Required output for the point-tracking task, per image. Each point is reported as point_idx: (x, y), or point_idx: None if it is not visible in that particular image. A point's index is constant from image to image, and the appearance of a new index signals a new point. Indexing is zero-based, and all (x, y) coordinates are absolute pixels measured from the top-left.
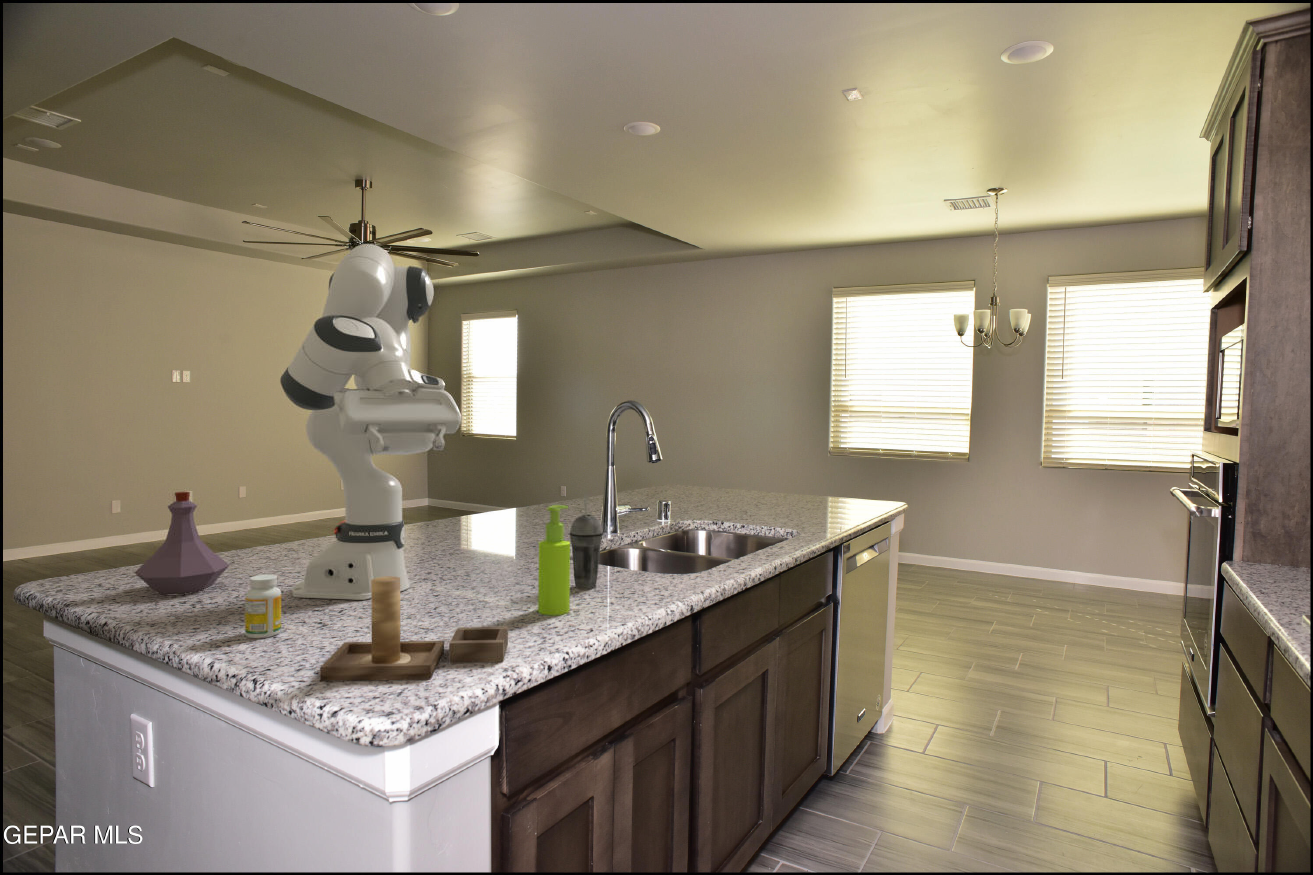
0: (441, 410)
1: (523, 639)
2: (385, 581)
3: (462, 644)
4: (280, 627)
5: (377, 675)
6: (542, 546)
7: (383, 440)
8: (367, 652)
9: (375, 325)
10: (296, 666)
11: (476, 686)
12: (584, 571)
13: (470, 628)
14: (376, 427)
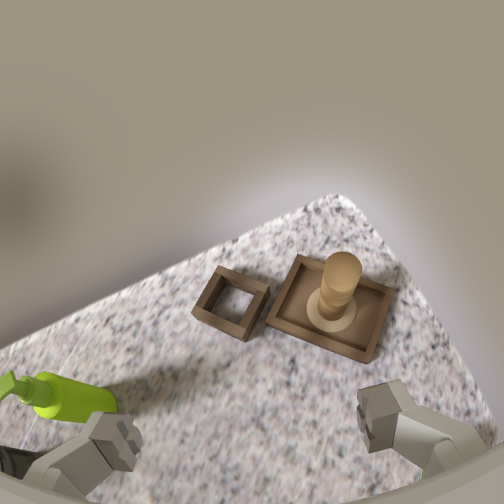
0: None
1: (175, 328)
2: (344, 258)
3: (256, 280)
4: (423, 471)
5: None
6: (64, 393)
7: (392, 396)
8: (345, 344)
9: None
10: (411, 346)
11: (265, 230)
12: (28, 454)
13: (230, 325)
14: (445, 449)
